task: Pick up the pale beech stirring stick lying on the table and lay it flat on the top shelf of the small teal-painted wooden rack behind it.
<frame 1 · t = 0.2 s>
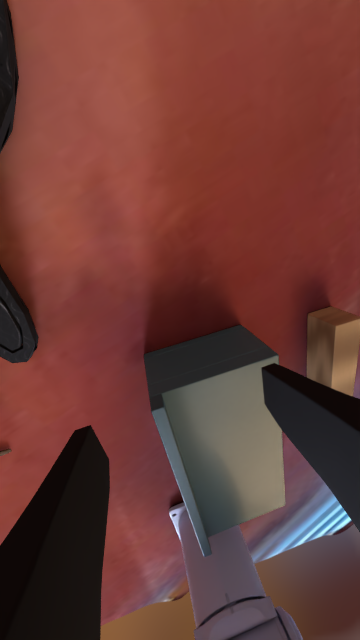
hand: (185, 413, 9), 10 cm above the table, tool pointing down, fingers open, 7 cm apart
shelf: (209, 413, 23), on the table
stick: (316, 376, 25), on the table
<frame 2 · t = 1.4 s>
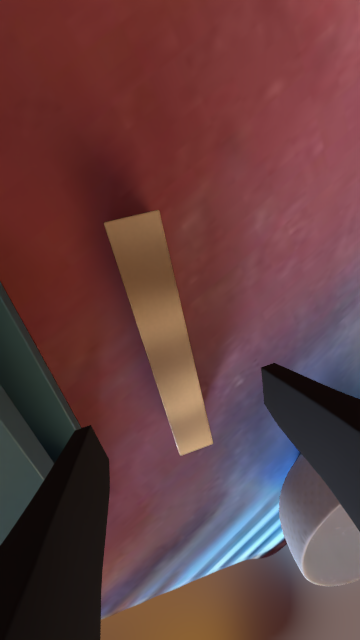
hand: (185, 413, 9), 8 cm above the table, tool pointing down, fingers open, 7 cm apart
stick: (163, 337, 16), on the table
cereal bowl: (321, 456, 26), on the table
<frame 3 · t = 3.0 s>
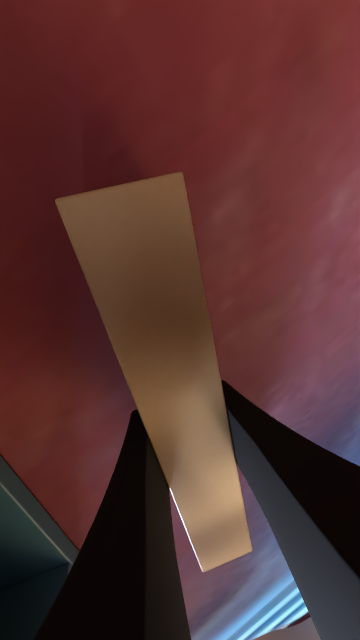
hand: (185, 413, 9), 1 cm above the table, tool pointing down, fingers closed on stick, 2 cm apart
stick: (177, 391, 10), on the table, touching gripper
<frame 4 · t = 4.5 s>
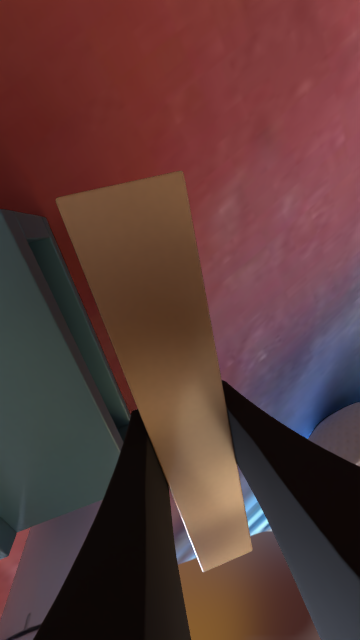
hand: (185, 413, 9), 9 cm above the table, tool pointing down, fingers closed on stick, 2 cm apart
shelf: (39, 361, 17), on the table
stick: (177, 391, 10), point 8 cm above the table, touching gripper
cereal bowl: (334, 431, 28), on the table
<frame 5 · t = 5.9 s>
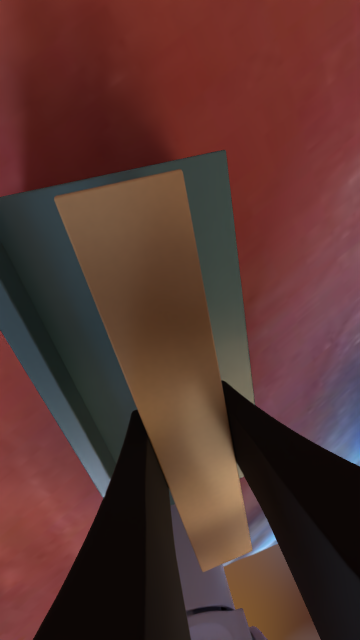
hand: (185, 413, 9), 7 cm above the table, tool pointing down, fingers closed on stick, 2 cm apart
shelf: (153, 338, 16), on the table
stick: (177, 390, 10), point 6 cm above the table, touching gripper
when the fingers open (7 cm above the table, at t = 6.3 s): stick stays where it is, resting on shelf.
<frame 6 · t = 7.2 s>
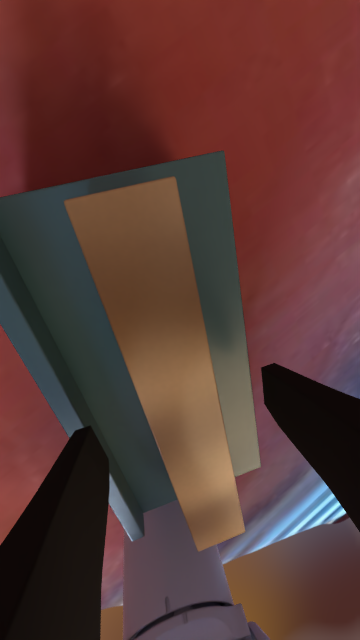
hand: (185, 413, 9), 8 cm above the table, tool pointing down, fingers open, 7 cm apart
shelf: (153, 337, 16), on the table
stick: (174, 381, 11), point 5 cm above the table, touching shelf
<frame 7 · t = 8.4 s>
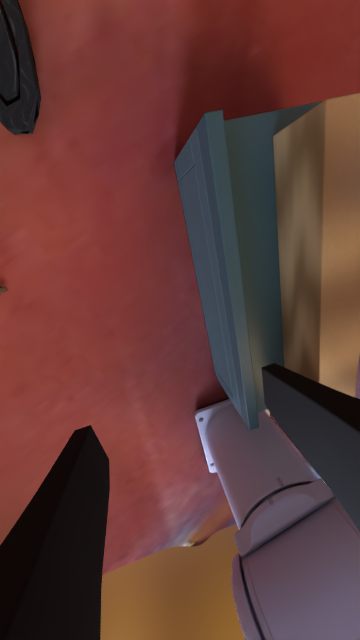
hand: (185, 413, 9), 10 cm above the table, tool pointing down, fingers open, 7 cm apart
shelf: (248, 275, 19), on the table
stick: (298, 287, 14), point 5 cm above the table, touching shelf
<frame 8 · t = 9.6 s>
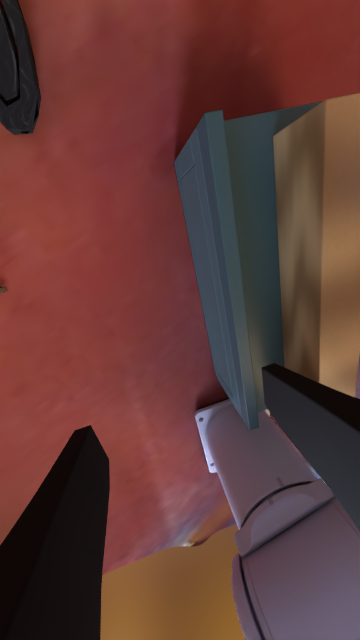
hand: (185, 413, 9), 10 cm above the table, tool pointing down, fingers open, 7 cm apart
shelf: (248, 275, 19), on the table
stick: (298, 287, 14), point 5 cm above the table, touching shelf
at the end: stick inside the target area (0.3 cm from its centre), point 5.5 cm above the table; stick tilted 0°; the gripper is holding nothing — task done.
